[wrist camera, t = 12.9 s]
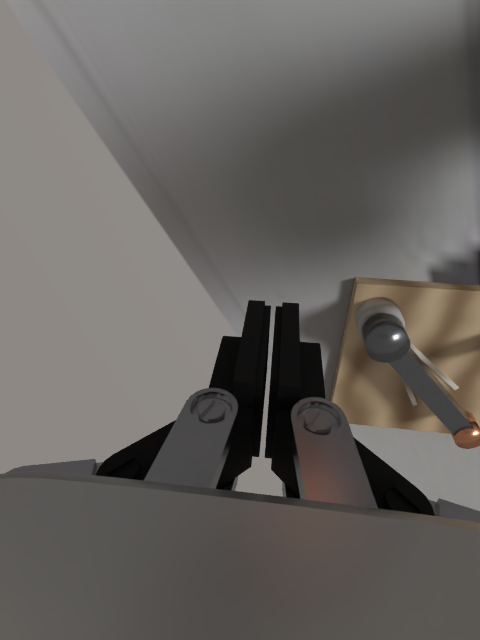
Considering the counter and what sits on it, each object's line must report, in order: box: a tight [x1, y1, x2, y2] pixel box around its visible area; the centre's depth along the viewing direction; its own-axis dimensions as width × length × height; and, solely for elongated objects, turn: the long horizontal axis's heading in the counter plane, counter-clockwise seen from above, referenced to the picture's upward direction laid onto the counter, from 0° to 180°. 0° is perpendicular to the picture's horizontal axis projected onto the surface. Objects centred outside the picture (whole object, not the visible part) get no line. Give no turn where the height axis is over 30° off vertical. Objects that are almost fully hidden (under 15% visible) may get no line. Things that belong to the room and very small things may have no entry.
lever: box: [361, 313, 480, 449], centre depth 42 cm, size 22×4×3 cm, turn 44°
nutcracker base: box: [330, 278, 480, 434], centre depth 44 cm, size 21×23×8 cm
